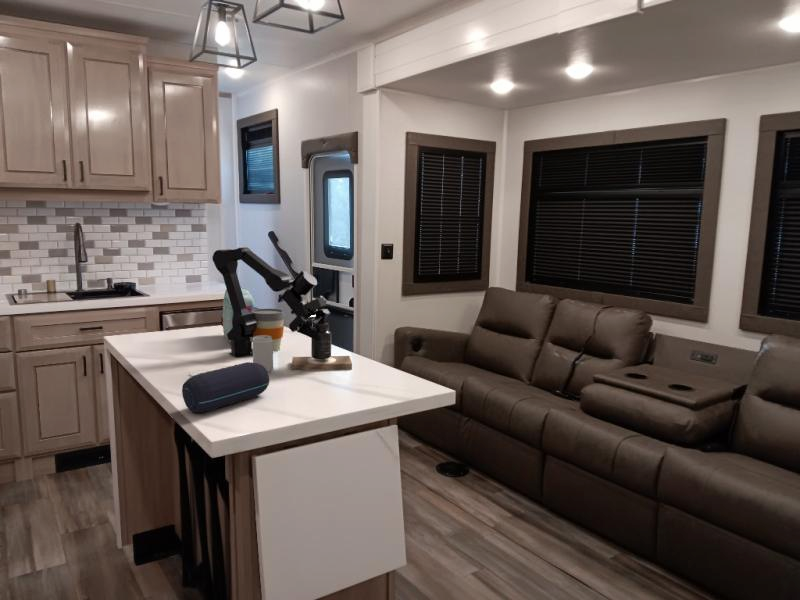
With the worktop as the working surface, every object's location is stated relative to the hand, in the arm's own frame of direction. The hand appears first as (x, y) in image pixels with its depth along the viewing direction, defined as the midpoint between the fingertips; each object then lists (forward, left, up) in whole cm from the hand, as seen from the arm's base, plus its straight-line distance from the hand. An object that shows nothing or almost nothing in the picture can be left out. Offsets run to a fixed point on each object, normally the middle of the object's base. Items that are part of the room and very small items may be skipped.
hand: (324, 338), depth 199 cm
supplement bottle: (-1, +1, -7) cm, 7 cm away
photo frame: (-34, +7, -10) cm, 36 cm away
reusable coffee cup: (-5, +33, -10) cm, 35 cm away
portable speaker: (-43, -18, -10) cm, 48 cm away
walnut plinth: (-1, +1, -10) cm, 10 cm away
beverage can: (-21, +5, -10) cm, 23 cm away
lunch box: (-7, +56, -10) cm, 57 cm away
